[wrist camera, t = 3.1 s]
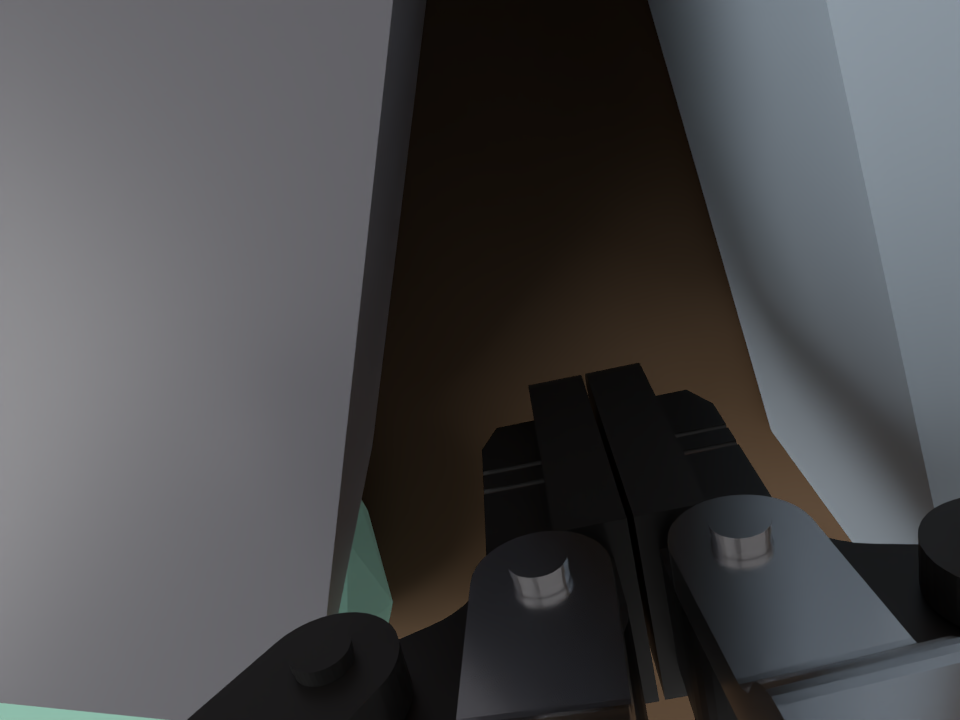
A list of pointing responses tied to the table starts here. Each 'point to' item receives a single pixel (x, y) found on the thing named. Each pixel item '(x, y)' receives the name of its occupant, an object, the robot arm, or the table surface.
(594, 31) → the table surface
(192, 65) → the camera case
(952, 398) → the side door
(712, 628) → the robot arm
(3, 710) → the mint green bar
